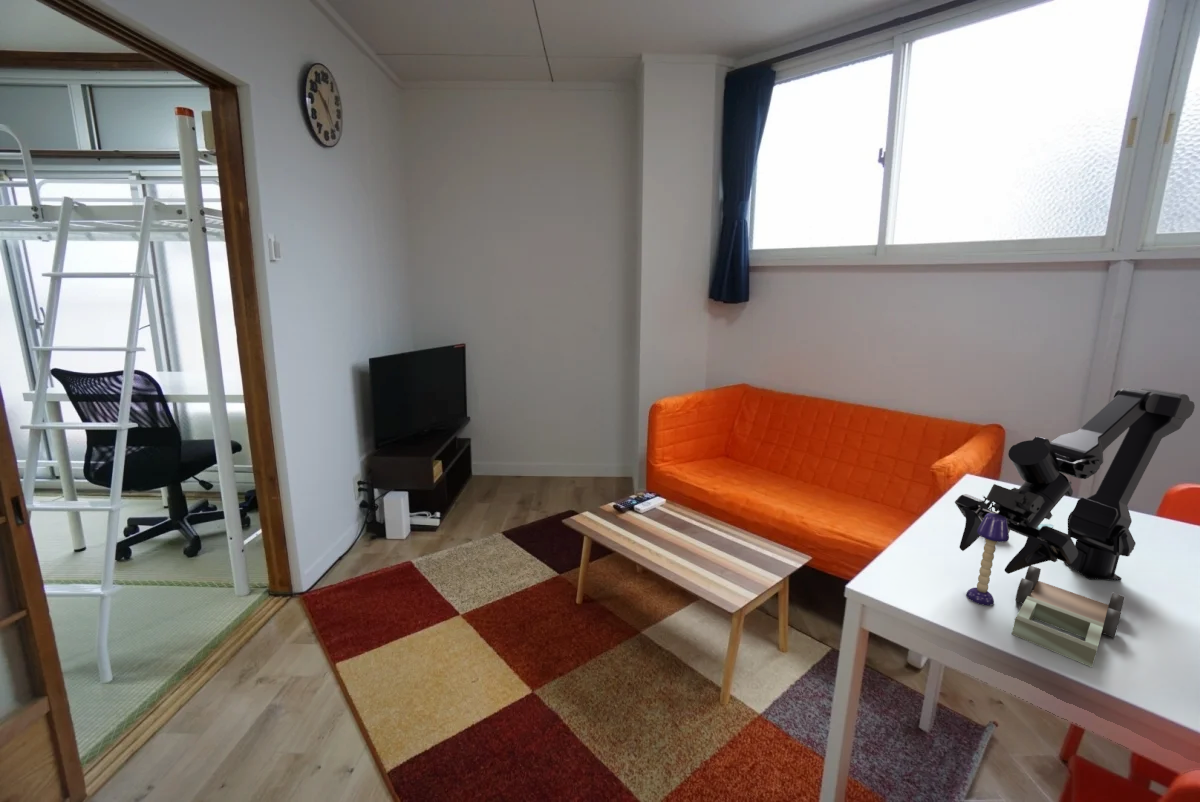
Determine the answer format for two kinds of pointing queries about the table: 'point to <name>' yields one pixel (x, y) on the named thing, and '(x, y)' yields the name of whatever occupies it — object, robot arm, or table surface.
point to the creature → (990, 504)
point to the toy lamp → (988, 555)
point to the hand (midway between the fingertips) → (982, 560)
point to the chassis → (1064, 618)
